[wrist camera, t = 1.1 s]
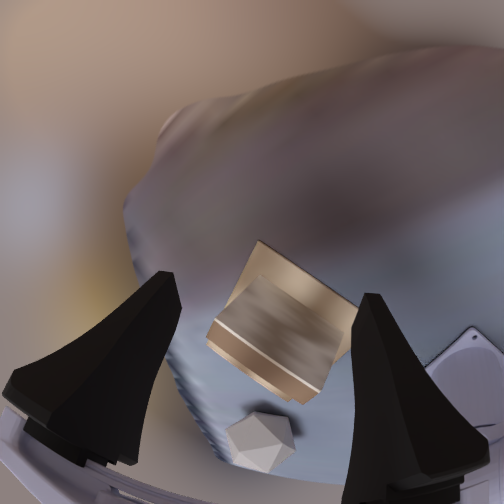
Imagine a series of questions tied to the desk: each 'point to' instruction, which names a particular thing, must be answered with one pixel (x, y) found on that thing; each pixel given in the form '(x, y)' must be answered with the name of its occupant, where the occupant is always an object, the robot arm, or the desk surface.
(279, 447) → the die
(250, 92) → the desk surface
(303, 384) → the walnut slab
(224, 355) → the light wood board
